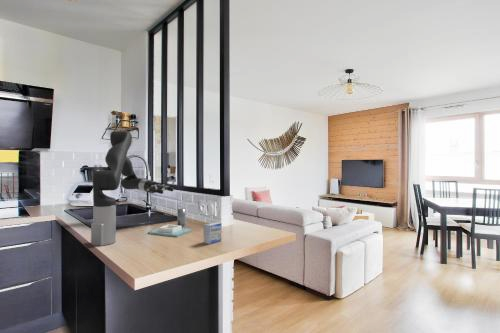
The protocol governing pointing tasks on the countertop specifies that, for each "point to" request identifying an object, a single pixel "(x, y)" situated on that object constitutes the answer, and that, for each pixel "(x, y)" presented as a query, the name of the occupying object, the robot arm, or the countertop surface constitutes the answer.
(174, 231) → the housing tray
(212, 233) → the medicine box
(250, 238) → the countertop surface
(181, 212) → the metal hub
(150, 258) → the countertop surface
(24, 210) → the countertop surface
